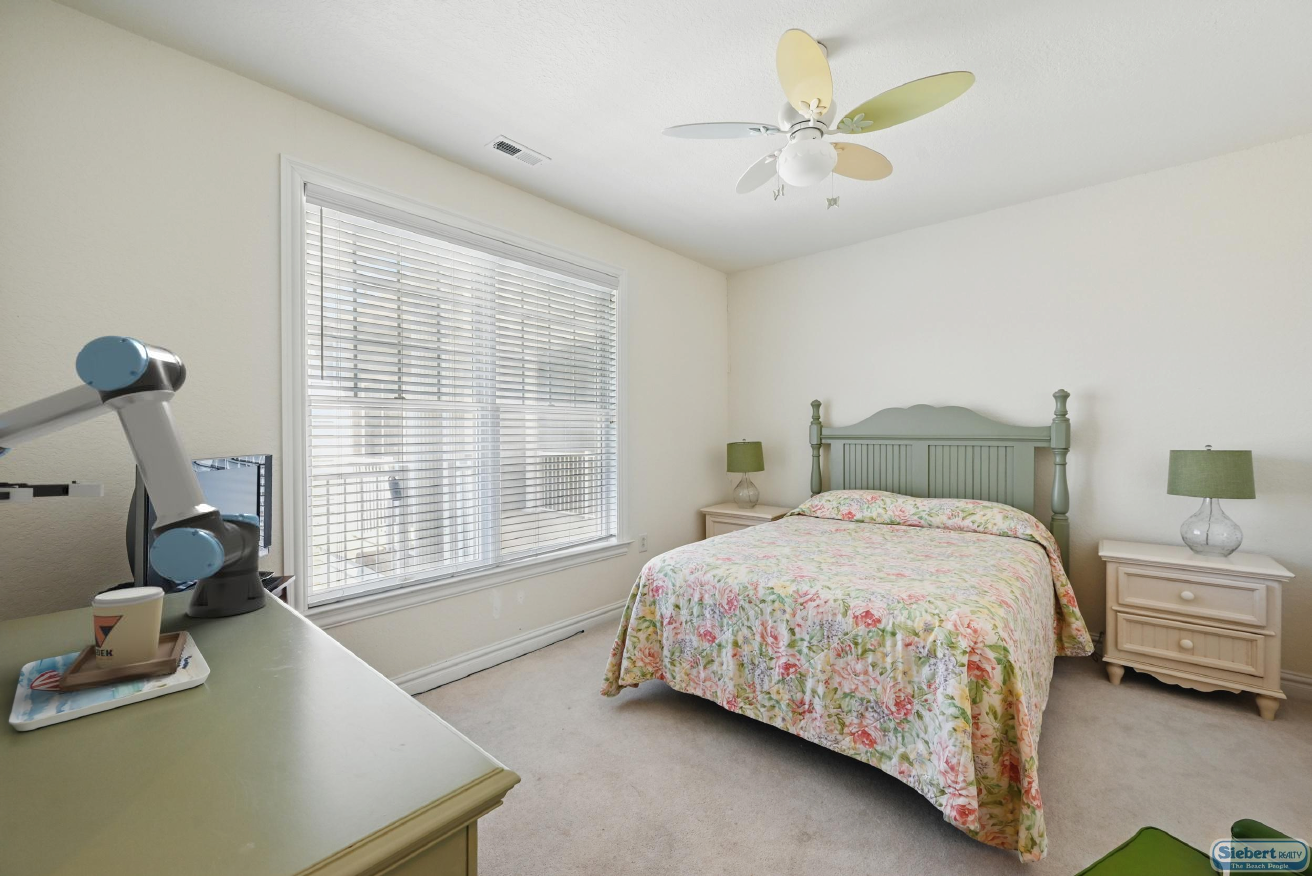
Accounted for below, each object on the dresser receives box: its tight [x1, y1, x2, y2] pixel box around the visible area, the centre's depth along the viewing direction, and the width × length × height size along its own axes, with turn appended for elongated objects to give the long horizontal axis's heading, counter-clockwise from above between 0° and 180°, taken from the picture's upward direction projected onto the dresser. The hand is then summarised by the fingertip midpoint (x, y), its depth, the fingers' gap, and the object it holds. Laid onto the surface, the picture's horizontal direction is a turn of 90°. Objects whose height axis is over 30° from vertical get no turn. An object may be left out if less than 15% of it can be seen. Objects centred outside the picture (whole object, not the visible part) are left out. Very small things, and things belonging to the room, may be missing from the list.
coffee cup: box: [91, 586, 165, 669], centre depth 98 cm, size 9×9×12 cm
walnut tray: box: [58, 630, 187, 693], centre depth 98 cm, size 14×18×2 cm
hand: (68, 492), depth 109 cm, fingers open, 13 cm apart
